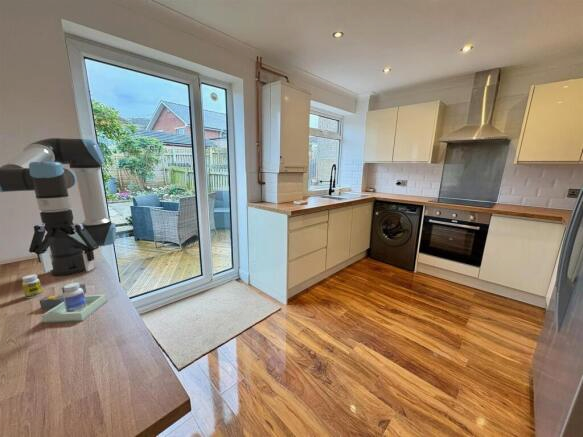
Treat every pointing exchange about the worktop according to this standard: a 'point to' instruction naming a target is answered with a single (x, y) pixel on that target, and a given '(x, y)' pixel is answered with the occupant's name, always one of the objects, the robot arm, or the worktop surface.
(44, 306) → the block
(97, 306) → the tray
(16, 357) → the worktop surface
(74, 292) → the pill bottle
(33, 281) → the supplement bottle
